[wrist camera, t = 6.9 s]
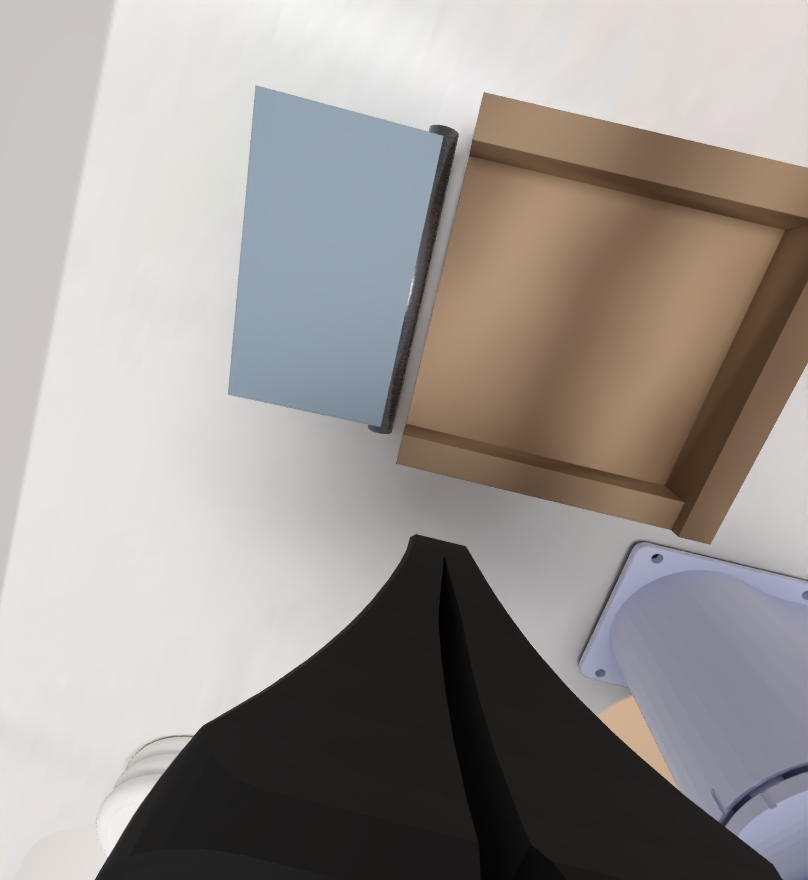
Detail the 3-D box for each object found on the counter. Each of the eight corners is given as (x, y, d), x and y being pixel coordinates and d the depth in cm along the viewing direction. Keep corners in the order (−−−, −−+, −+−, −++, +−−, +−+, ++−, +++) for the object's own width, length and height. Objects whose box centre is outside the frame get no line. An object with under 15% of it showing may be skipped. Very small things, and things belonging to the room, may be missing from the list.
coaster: (248, 855, 30) (224, 924, 27) (116, 800, 29) (74, 864, 26) (300, 771, 27) (280, 838, 23) (154, 708, 26) (112, 767, 23)
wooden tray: (802, 208, 15) (904, 181, 12) (662, 501, 19) (709, 544, 16) (475, 131, 15) (485, 83, 12) (402, 439, 19) (394, 468, 16)
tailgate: (461, 129, 13) (256, 73, 13) (391, 436, 17) (227, 401, 16) (456, 141, 15) (268, 91, 14) (392, 427, 18) (238, 394, 17)
